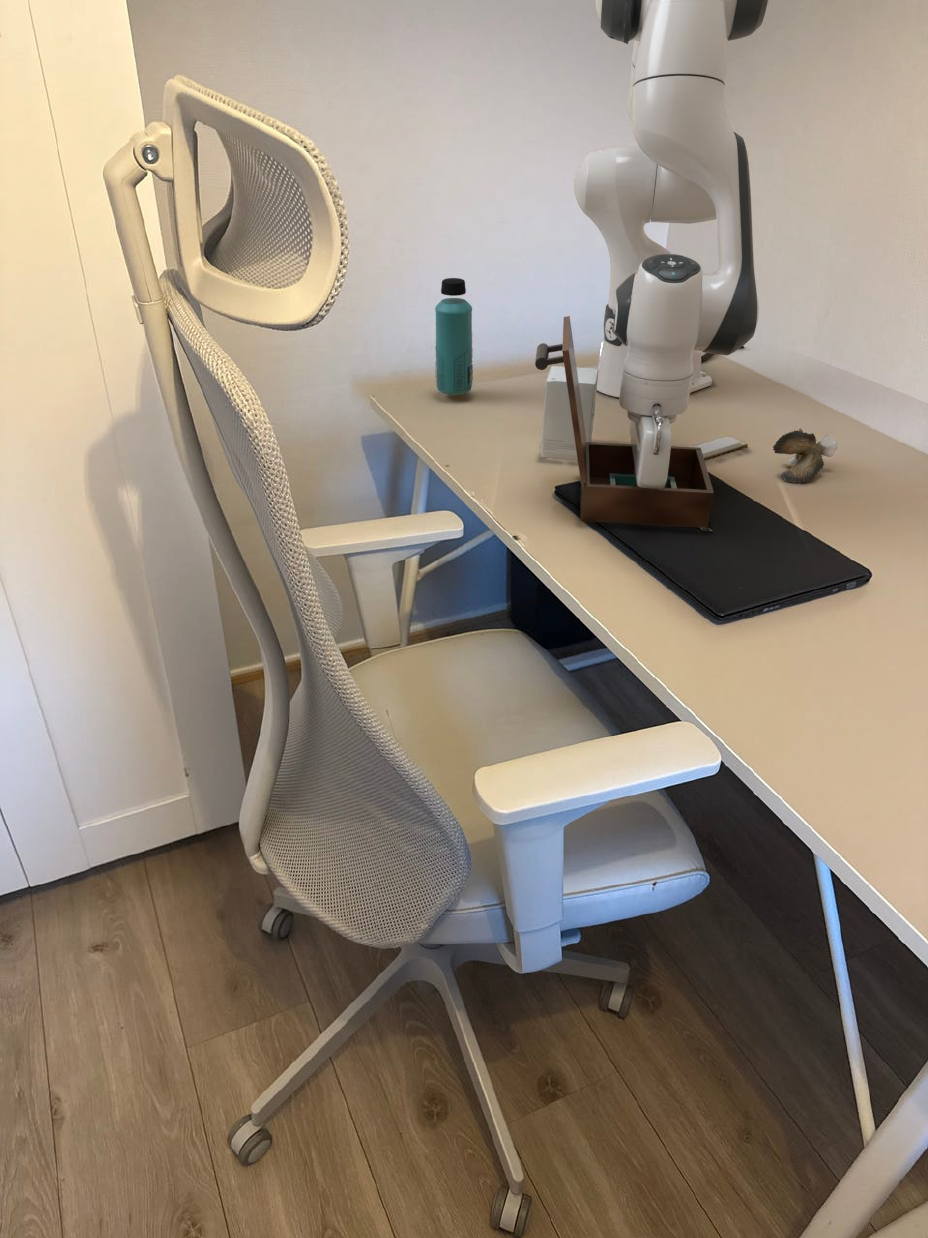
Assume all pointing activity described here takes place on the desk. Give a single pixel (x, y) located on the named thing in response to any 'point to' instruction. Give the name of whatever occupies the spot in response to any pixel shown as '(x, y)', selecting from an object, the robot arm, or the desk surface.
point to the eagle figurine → (804, 454)
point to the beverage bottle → (454, 340)
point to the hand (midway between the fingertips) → (641, 490)
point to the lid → (572, 386)
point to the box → (646, 489)
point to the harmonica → (720, 447)
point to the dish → (634, 480)
